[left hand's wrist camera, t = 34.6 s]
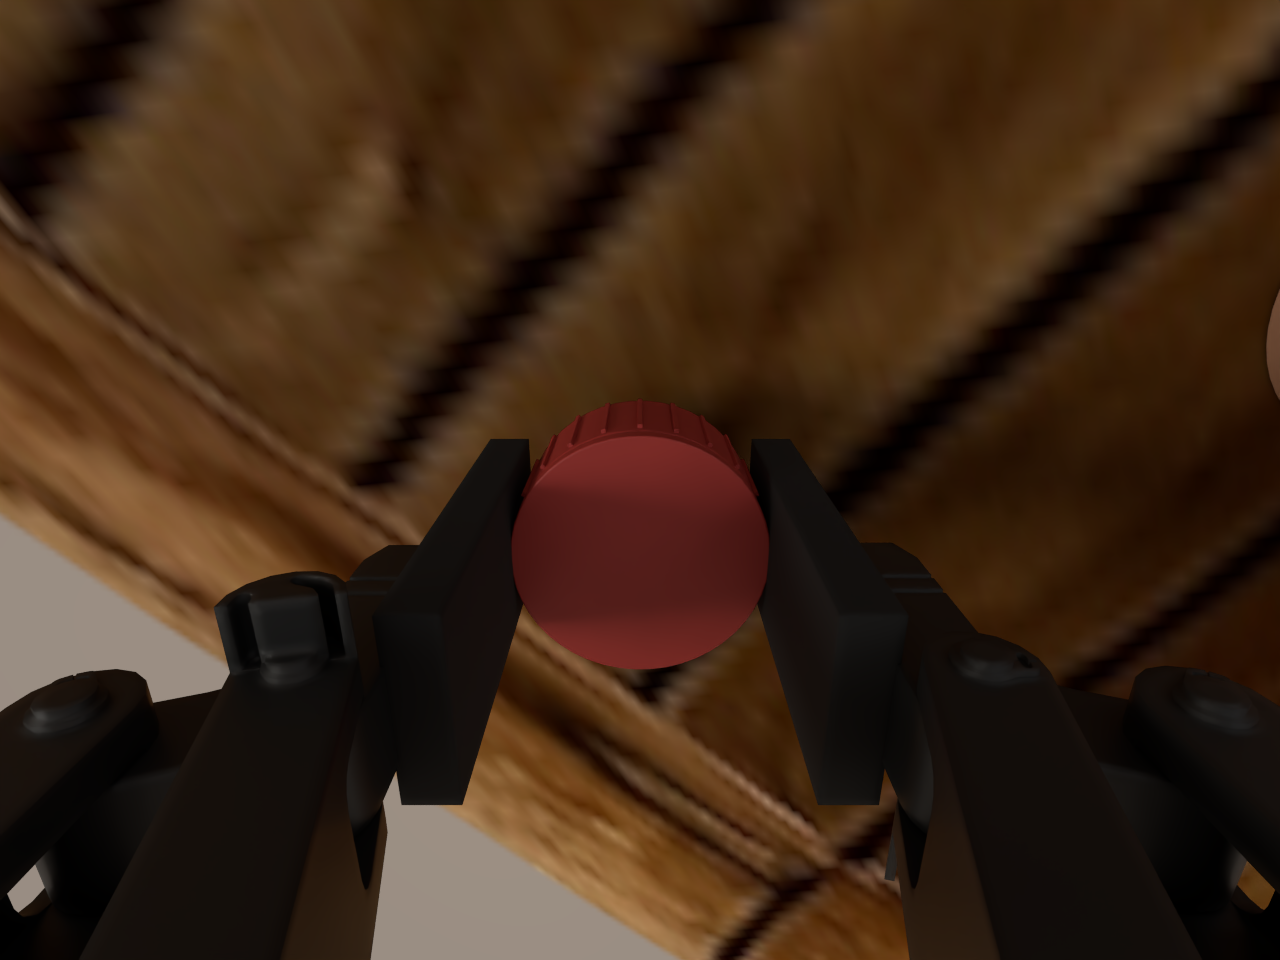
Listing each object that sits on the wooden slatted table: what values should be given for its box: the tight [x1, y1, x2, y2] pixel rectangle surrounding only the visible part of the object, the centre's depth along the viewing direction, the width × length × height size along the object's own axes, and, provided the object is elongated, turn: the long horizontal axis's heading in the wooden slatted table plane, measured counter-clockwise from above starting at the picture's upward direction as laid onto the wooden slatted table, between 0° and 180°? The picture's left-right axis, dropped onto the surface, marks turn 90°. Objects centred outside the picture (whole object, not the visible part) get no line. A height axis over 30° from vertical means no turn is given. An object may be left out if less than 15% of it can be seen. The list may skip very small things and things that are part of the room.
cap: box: [511, 399, 769, 669], centre depth 13 cm, size 5×5×2 cm
